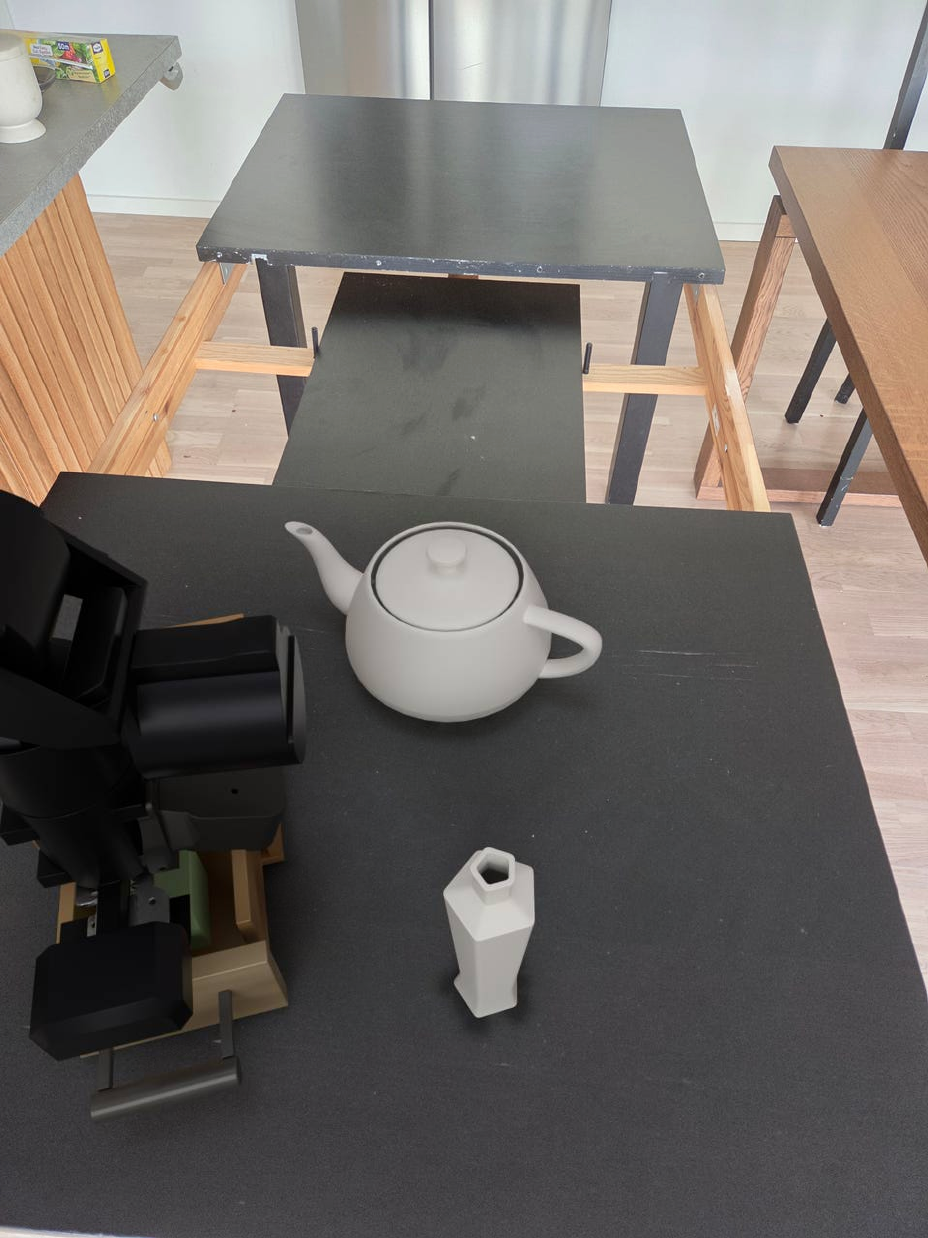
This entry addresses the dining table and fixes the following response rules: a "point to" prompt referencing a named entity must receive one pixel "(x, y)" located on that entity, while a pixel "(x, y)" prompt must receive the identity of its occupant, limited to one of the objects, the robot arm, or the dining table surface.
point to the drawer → (204, 987)
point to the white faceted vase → (490, 928)
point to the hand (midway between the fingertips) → (164, 911)
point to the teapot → (447, 621)
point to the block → (191, 882)
